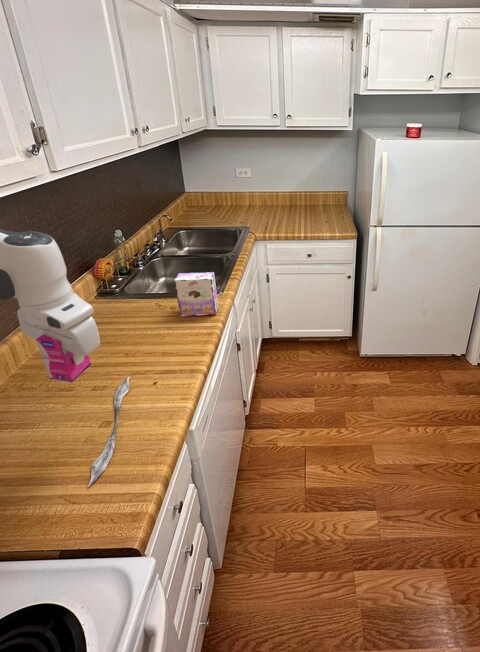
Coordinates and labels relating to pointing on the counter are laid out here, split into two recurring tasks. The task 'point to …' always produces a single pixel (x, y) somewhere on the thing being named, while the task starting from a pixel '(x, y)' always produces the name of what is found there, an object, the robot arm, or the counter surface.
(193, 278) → the candy box
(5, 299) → the robot arm
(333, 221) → the counter surface
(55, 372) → the supplement box
